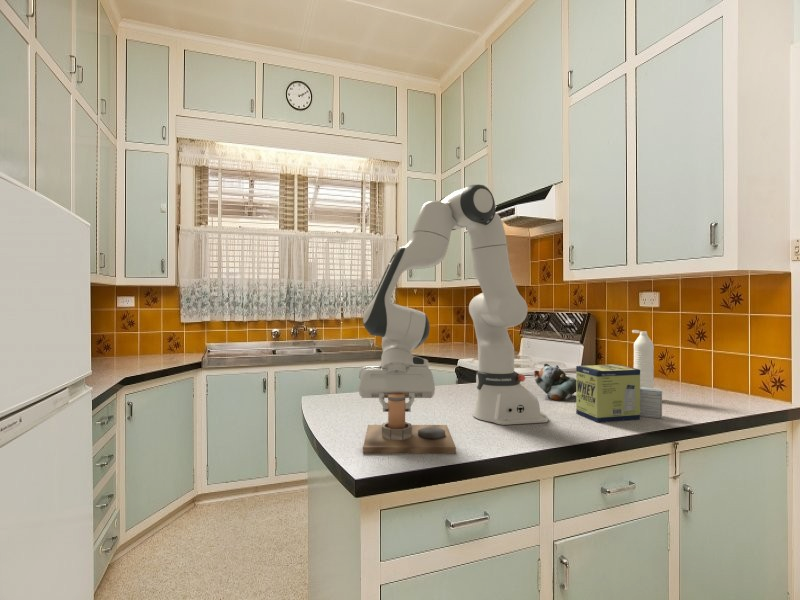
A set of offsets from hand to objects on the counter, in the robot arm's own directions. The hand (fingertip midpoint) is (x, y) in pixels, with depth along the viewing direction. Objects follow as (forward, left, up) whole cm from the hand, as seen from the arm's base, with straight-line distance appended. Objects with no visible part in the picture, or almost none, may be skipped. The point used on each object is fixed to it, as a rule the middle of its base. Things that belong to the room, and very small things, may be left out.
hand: (396, 410), depth 110 cm
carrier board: (-3, -1, -8) cm, 9 cm away
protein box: (-66, -24, -8) cm, 71 cm away
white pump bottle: (-91, -49, -8) cm, 103 cm away
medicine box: (-79, -25, -8) cm, 83 cm away
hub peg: (0, -1, -5) cm, 5 cm away
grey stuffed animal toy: (-60, -50, -8) cm, 79 cm away
